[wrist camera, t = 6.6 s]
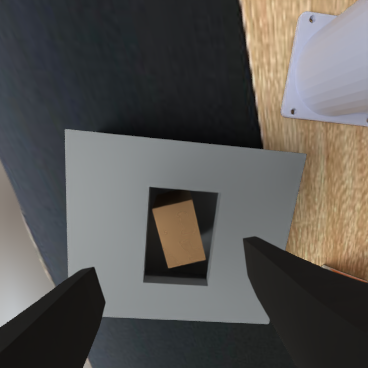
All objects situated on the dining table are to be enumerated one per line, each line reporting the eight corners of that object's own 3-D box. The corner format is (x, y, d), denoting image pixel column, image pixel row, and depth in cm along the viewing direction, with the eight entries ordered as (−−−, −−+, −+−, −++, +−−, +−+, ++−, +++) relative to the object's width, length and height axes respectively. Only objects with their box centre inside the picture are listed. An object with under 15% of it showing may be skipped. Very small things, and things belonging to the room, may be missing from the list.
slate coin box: (271, 150, 18) (306, 153, 13) (247, 281, 21) (268, 323, 16) (95, 132, 17) (64, 129, 12) (94, 273, 20) (69, 315, 15)
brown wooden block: (188, 187, 18) (192, 199, 14) (199, 235, 19) (205, 259, 15) (156, 194, 18) (152, 209, 14) (169, 242, 19) (168, 268, 15)
